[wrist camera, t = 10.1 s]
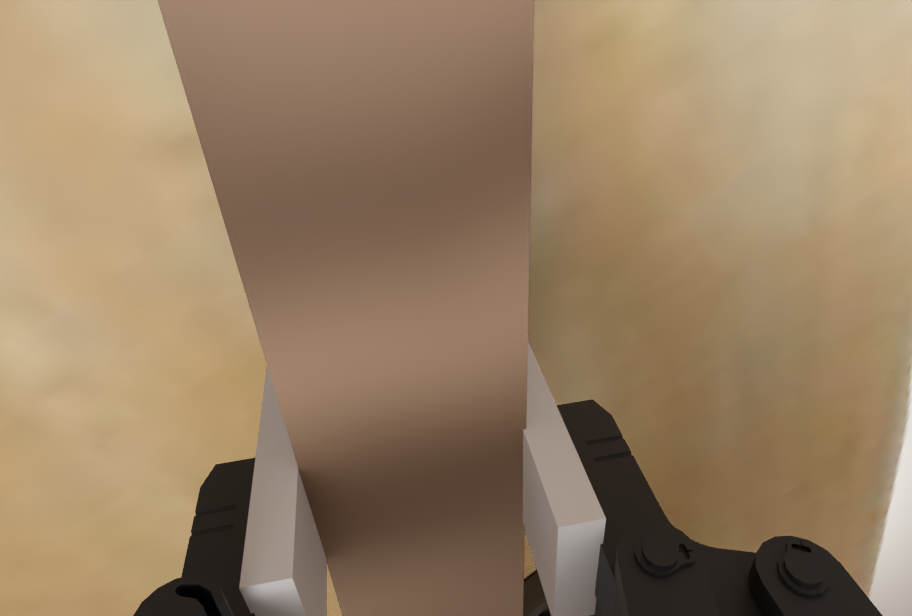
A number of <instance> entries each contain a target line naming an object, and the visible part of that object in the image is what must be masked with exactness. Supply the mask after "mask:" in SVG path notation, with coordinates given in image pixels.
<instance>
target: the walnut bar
mask: <svg viewBox="0 0 912 616" xmlns="http://www.w3.org/2000/svg"><path fill="white" fill-rule="evenodd" d="M158 3H159V6H160V10H161V13H162V16H163V20H164V23H165V26H166V30H167V33H168V36H169V40H170V43H171V46H172V50H173V53H174V56H175V60H176V63H177V66H178V70H179V73H180V76H181V80H182V83H183V86H184V90H185V93H186V96H187V100H188V103H189V106H190V110H191V113H192V116H193V120H194V123H195V126H196V129H197V133H198V136H199V139H200V143H201V146H202V149H203V153H204V156H205V159H206V163H207V166H208V169H209V173H210V176H211V179H212V183H213V186H214V189H215V193H216V196H217V199H218V203H219V206H220V209H221V213H222V216H223V219H224V223H225V226H226V229H227V233H228V236H229V239H230V243H231V246H232V249H233V253H234V256H235V259H236V263H237V266H238V269H239V272H240V276H241V279H242V282H243V286H244V289H245V292H246V296H247V299H248V302H249V306H250V309H251V312H252V316H253V319H254V322H255V326H256V329H257V332H258V336H259V339H260V342H261V346H262V349H263V352H264V356H265V359H266V362H267V366H268V369H269V372H270V376H271V379H272V382H273V386H274V389H275V392H276V396H277V399H278V402H279V405H280V409H281V412H282V415H283V419H284V422H285V425H286V429H287V432H288V435H289V439H290V442H291V445H292V449H293V452H294V455H295V459H296V462H297V465H298V469H299V472H300V475H301V479H302V482H303V485H304V489H305V492H306V495H307V499H308V502H309V505H310V508H311V511H312V514H313V518H314V521H315V524H316V527H317V530H318V534H319V537H320V540H321V543H322V546H323V550H324V553H325V556H326V559H327V565H328V568H329V572H330V575H331V578H332V582H333V585H334V588H335V592H336V595H337V598H338V602H339V605H340V608H341V612H342V615H343V616H523V587H524V531H525V528H524V525H523V430H524V429H526V418H527V362H528V306H529V250H530V194H531V138H532V81H533V25H534V0H158Z"/></svg>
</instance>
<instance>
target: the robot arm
mask: <svg viewBox="0 0 912 616" xmlns="http://www.w3.org/2000/svg"><path fill="white" fill-rule="evenodd" d="M195 512H196V516H194V520H193V525H192V530H191V533H192V536H190V539H189V544H188V549H187V554H186V558H185V563H184V568H183V573H182V577H181V578H178V579H175V580H173V581H171V582H169V583H167V584H165V585H163V586H161V587H159V588H158V589H156V590H155V591H154V592H153V593H152V594H151V595H150V596H149V597H147V598H146V599H145V600H144V601H143V602H142V603H141V605H140V606H139V608H138V609H137V611H136V612H135V614H134V615H133V616H327V559H326V556H325V553H324V550H323V546H322V543H321V540H320V537H319V534H318V530H317V527H316V524H315V521H314V518H313V514H312V511H311V508H310V505H309V502H308V499H307V495H306V492H305V489H304V485H303V482H302V479H301V475H300V472H299V469H298V465H297V462H296V459H295V455H294V452H293V449H292V445H291V442H290V439H289V435H288V432H287V429H286V425H285V422H284V419H283V415H282V412H281V409H280V405H279V402H278V399H277V396H276V392H275V389H274V386H273V382H272V379H271V376H270V372H269V369H268V366H267V370H266V378H265V386H264V394H263V402H262V410H261V418H260V426H259V434H258V442H257V450H256V458H252V459H246V460H240V461H234V462H228V463H222V464H216V465H215V467H214V468H213V469H212V471H211V472H210V474H209V475H208V477H207V478H206V480H205V481H204V483H203V484H202V486H201V487H200V492H199V497H198V501H197V506H196V511H195ZM523 525H524V528H525V532H526V535H527V538H528V542H529V545H530V548H531V551H532V555H533V558H534V561H535V565H536V568H537V571H538V572H537V573H535V574H534V575H533V576H531V577H530V578H529V579H528V580H526V581H525V582H524V587H523V616H882V615H881V613H880V612H879V611H878V610H877V608H876V607H875V606H874V605H873V603H872V602H871V601H870V600H869V598H868V597H867V596H866V595H865V593H864V592H863V591H862V590H861V588H860V587H859V586H858V585H857V583H856V582H855V581H854V580H853V578H852V577H851V576H850V575H849V573H848V572H847V571H846V570H845V568H844V567H843V566H842V565H841V563H840V562H838V561H837V560H836V559H835V558H834V557H833V556H832V555H831V554H830V553H829V552H828V551H827V550H825V549H824V548H822V547H820V546H818V545H816V544H815V543H813V542H811V541H809V540H805V539H801V538H798V537H794V536H778V537H774V538H771V539H769V540H767V541H765V542H763V543H762V545H761V546H760V548H759V550H758V551H757V553H753V552H744V551H736V550H727V549H718V548H714V547H709V546H705V545H702V544H700V543H697V542H695V541H693V540H691V539H690V538H688V537H687V536H686V535H685V534H684V533H683V532H682V531H680V530H678V529H676V528H675V527H674V526H673V525H672V524H671V523H670V522H669V520H668V519H667V517H666V516H665V515H664V513H663V511H662V509H661V507H660V505H659V503H658V501H657V500H656V498H655V496H654V494H653V492H652V490H651V488H650V486H649V485H648V483H647V481H646V479H645V477H644V475H643V473H642V471H641V470H640V468H639V466H638V464H637V462H636V460H635V458H634V456H632V455H631V451H630V449H629V447H628V445H627V443H626V441H625V440H624V439H623V438H622V434H621V432H620V430H619V428H618V426H617V425H616V423H615V421H614V419H613V417H612V415H611V414H609V413H608V412H607V411H606V410H605V409H603V408H602V407H601V406H600V405H599V404H597V403H596V402H595V401H594V400H587V401H581V402H575V403H569V404H563V405H557V406H556V403H555V401H554V399H553V396H552V394H551V392H550V390H549V387H548V385H547V383H546V380H545V378H544V376H543V374H542V371H541V369H540V367H539V364H538V362H537V360H536V358H535V355H534V353H533V351H532V348H531V346H530V344H529V342H528V362H527V418H526V429H524V430H523Z"/></svg>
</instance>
